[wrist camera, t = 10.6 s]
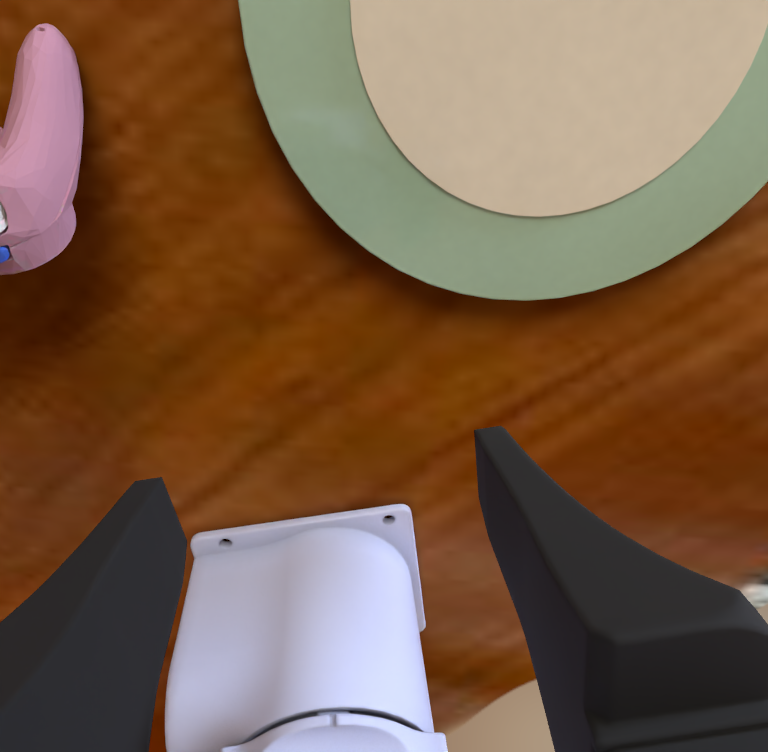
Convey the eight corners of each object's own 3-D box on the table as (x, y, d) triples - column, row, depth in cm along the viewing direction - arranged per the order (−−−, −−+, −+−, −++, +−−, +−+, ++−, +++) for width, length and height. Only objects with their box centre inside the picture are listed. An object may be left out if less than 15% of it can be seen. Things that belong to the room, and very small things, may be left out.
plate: (302, 320, 24) (301, 336, 23) (159, -406, 15) (146, -439, 14) (793, 251, 24) (817, 264, 23) (951, -507, 15) (1003, -548, 14)
